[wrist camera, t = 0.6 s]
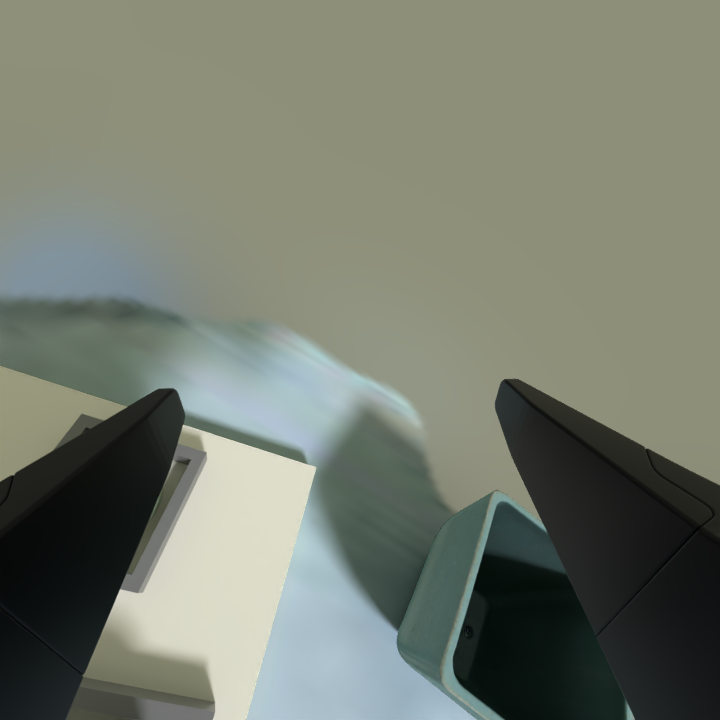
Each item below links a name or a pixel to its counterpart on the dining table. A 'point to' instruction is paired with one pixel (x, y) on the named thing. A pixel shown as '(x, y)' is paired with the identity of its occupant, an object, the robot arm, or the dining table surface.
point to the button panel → (177, 563)
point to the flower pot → (506, 623)
